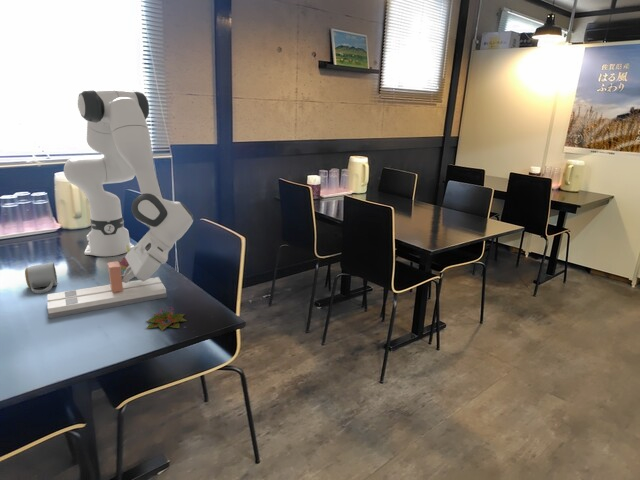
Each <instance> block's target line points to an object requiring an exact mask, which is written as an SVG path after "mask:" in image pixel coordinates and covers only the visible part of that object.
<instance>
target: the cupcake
mask: <svg viewBox="0 0 640 480" xmlns="http://www.w3.org/2000/svg"><path fill="white" fill-rule="evenodd" d="M126 248H127V252H126V253H128V252H129V251H130V250H129V247H128V246H127V247H126ZM118 262H119V264H120V266H121V270H123V272H125V270H126V269H127V267H128V266H129V264H128V262H127V260H126V258H125V257H123V258H122V259H120V261H118Z"/></svg>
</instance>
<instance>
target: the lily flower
mask: <svg viewBox="0 0 640 480" xmlns="http://www.w3.org/2000/svg"><path fill="white" fill-rule="evenodd" d="M159 311H160V312H157V313H153V314H154V315H153V317H151V318H149V319H148V320H146V321H145V322H147V323H148V322H149V324H148V325H147V327H146V328H145V329H146V330H147V329H153V328H159V329H160V330H161V332H163V331H164V330H165V329H166V328H167V327H168V328H175V329H180V322H187V321H188V320H187V319H185V318H184V316H185V315H186V313H176V314H175V312H173V311H174V308H173V306H170V308H169V309H168V308H166V312H165V311H164V310H163V309H162V308H159ZM161 312H162V313H161ZM164 321H165V323H164ZM168 321H170V322H168Z"/></svg>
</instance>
